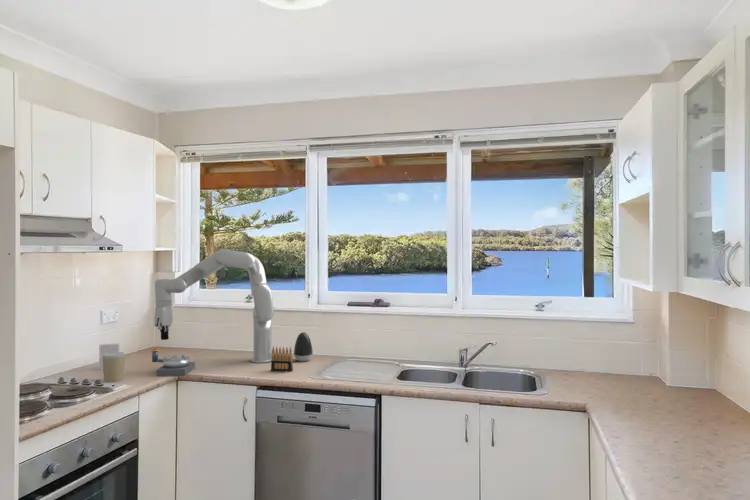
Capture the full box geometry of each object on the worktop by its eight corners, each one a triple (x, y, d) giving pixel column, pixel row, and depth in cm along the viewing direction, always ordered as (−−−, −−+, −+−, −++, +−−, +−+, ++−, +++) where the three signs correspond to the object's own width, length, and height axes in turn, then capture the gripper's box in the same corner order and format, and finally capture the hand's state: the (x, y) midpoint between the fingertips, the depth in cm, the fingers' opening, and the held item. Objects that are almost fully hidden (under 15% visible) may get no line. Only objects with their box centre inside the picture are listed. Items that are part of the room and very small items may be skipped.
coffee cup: (129, 378, 228) (129, 352, 228) (113, 383, 219) (113, 356, 219) (114, 376, 231) (114, 351, 231) (97, 381, 222) (97, 355, 222)
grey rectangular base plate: (194, 367, 249) (194, 361, 249) (184, 375, 233) (184, 368, 233) (168, 368, 248) (168, 361, 248) (156, 376, 232) (156, 369, 232)
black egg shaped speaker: (313, 358, 272) (314, 330, 272) (311, 362, 261) (311, 334, 261) (295, 358, 272) (295, 330, 272) (292, 362, 262) (292, 333, 262)
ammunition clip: (270, 371, 243) (270, 346, 243) (272, 370, 245) (272, 346, 245) (291, 371, 241) (291, 347, 241) (292, 370, 243) (292, 346, 243)
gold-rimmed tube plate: (193, 362, 247) (193, 347, 247) (183, 368, 235) (183, 351, 235) (157, 362, 247) (157, 347, 247) (146, 368, 235) (146, 351, 235)
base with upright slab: (120, 365, 255) (120, 342, 255) (117, 369, 246) (117, 345, 246) (101, 366, 252) (101, 343, 252) (97, 370, 243) (97, 346, 243)
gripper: (164, 301, 257) (165, 336, 257) (148, 305, 242) (149, 342, 242) (178, 301, 256) (179, 336, 256) (163, 305, 241) (164, 342, 241)
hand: (164, 339), depth 249 cm, fingers closed
